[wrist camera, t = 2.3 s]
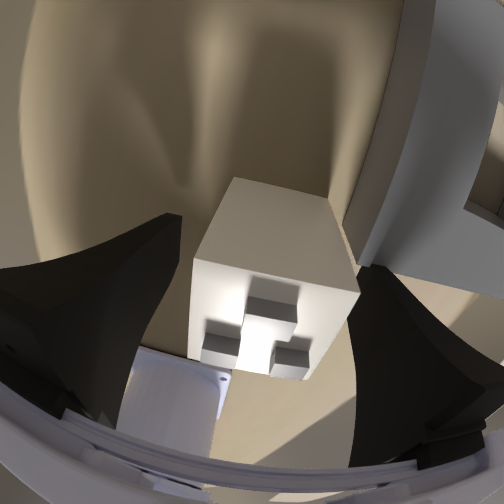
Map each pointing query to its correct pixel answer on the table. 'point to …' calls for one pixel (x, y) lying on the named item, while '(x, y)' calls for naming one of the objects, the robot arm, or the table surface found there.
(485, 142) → the socket
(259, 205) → the plug
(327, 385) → the table surface
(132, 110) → the table surface
